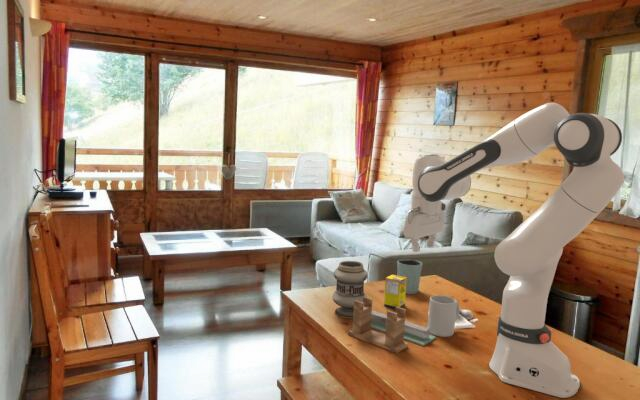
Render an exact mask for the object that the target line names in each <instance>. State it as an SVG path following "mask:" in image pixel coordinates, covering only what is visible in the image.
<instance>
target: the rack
mask: <svg viewBox="0 0 640 400" xmlns="http://www.w3.org/2000/svg"><path fill="white" fill-rule="evenodd" d="M372 310H373V299H372V298H370V297H363V302H360V301H357V300H355V301H354V313H353V318H352V329H350V330H348V331H347V335H348V336H350V337H353V338H356V339H359V340H362V341H364V342H366V343H369V344H372V345H374V346H376V347H379V348H382V349H385V350H387V351H390V352H393V353H396V354H398V353H400V352H402V351H404V350H405V349H407V348H408V347H409V343H408V342H405V341H404V328H405V321H406V313H407V309H406V308H403V307H401V308H400V307H396V308H395V312H394V311H391V310H387V311H386V315H387V321H386V333H384V334H383V333H381V332H378V331H375V330H372V328H371V314H372Z"/></svg>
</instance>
